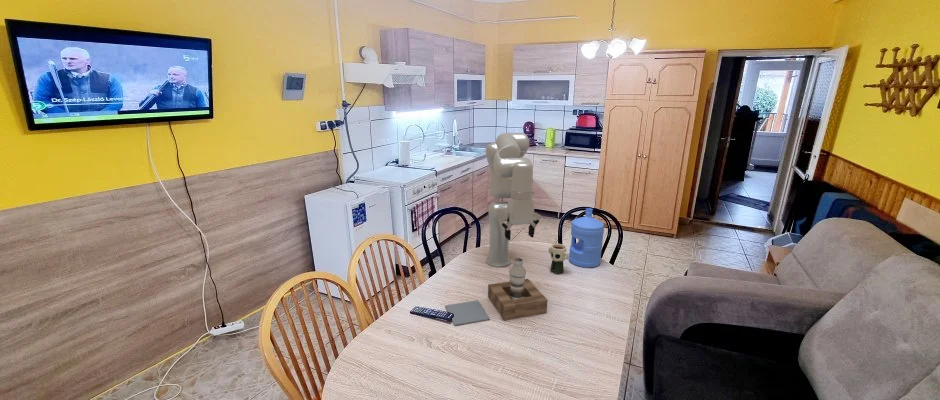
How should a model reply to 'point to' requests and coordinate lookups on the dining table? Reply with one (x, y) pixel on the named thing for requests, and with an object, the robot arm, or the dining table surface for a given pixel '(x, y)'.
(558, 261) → the character mug
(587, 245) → the water jug
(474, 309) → the pad
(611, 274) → the dining table surface
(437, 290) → the dining table surface
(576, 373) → the dining table surface
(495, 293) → the bore block
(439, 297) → the dining table surface
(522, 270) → the plastic bottle
